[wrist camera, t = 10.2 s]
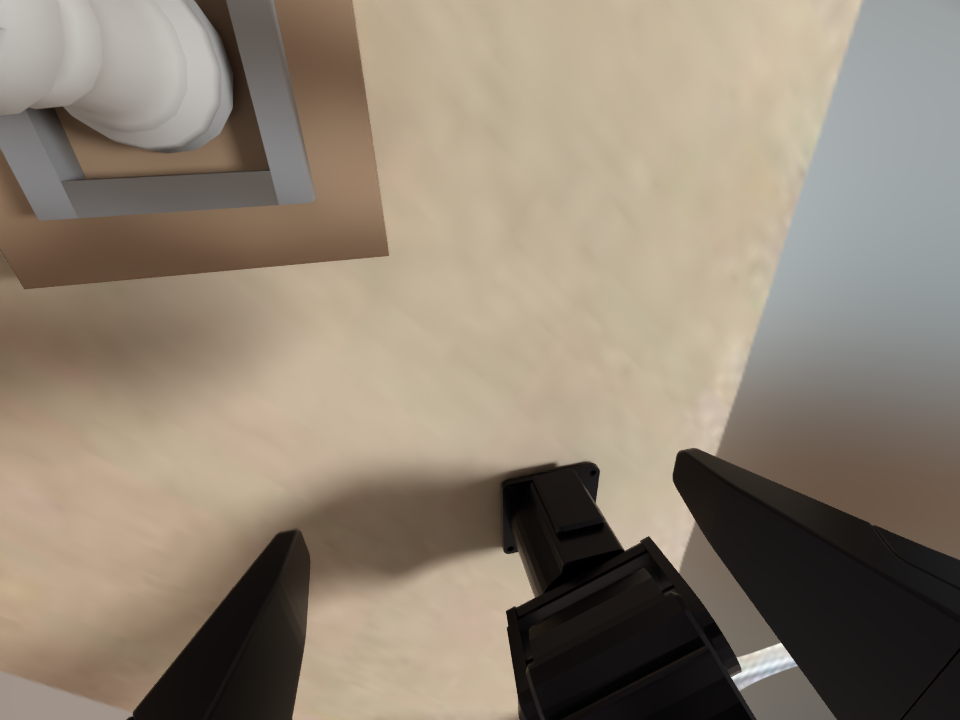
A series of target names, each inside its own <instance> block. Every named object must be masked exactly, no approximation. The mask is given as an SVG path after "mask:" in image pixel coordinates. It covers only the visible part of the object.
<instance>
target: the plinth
mask: <svg viewBox="0 0 960 720" xmlns="http://www.w3.org/2000/svg"><path fill="white" fill-rule="evenodd" d="M194 1H195V2H196V3H197V5H198V6H199V8H200V9H201V10H202V12H203V13H204V15H205V16H206V17H207V19H208V20H209V22H210V23H211V24H212V26H213V27H214V29H215V30H216V31H217V33H218V34H219V36H220V37H221V40H222V43H223V45H224V48H225V51H226V54H227V57H228V60H229V63H230V66H231V69H232V72H233V109H232V111H231V113H230V115H229V117H228V119H227V121H226V123H225V125H224V127H223V129H222V131H221V133H220V134H219V135H218V136H216V137H215V138H213V139H212V140H210V141H209V142H207V143H206V144H205V145H203V146H202V147H200V148H199V149H197V150H191V151H183V152H175V153H167V154H166V153H162V152H158V151H149V150H145V149H141V148H137V147H133V146H129V145H125V144H121V143H117V142H115V141H113V140H111V139H109V138H108V137H106V136H104V135H103V134H101V133H99V132H98V131H96V130H94V129H93V128H91V127H89V126H88V125H86V124H84V123H83V122H81V121H79V120H78V119H76V118H74V117H73V116H72V115H71V114H70V113H69V112H68V111H67V110H66V109H65V108H64V107H63V106H61V107H52V108H43V109H33V108H30V107H28V108H27V109H25V110H24V111H23V112H21V113H20V114H10V115H1V116H0V249H1V251H2V252H3V254H4V256H5V257H6V259H7V261H8V263H9V264H10V266H11V268H12V269H13V271H14V273H15V274H16V276H17V278H18V279H19V281H20V283H21V284H22V286H23V288H24V289H32V288H43V287H54V286H65V285H76V284H87V283H97V282H108V281H119V280H130V279H141V278H152V277H163V276H174V275H185V274H196V273H207V272H218V271H229V270H240V269H251V268H261V267H272V266H283V265H294V264H305V263H316V262H327V261H338V260H349V259H360V258H371V257H382V256H389V252H388V244H387V237H386V230H385V223H384V216H383V210H382V203H381V196H380V189H379V182H378V175H377V168H376V161H375V154H374V147H373V141H372V134H371V127H370V120H369V113H368V106H367V99H366V92H365V85H364V78H363V71H362V65H361V58H360V51H359V44H358V37H357V30H356V23H355V16H354V9H353V2H352V0H194Z"/></svg>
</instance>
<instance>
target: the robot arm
mask: <svg viewBox="0 0 960 720" xmlns="http://www.w3.org/2000/svg"><path fill="white" fill-rule="evenodd" d="M599 474H600V470H599V468H598V467H597V465H596V464H594V463H589V464H584V465H579V466H574V467H569V468H564V469H559V470H554V471H549V472H544V473H539V474H534V475H529V476H524V477H519V478H514V479H508V480H506V481H504V482H503V483H502V484H501V521H502V547H503V550H504V552H505V553H506V554H511V553H515V552H519V554H520V557H521V560H522V562H523V565H524V568H525V571H526V574H527V577H528V579H529V582H530V585H531V588H532V591H533V594H534V596H535V598H534V599H532V600H530V601H528V602H526V603H524V604H522V605H520V606H518V607H517V608H516V607H515V606H514V607H512V608H511V609H509V610H507V611H506V614H507V620H508V627H507V632H508V638H509V644H510V650H511V657H512V663H513V669H514V675H515V681H516V688H517V694H518V714H519V719H520V720H756V718H755V717H754V715H753V713H752V712H751V710H750V708H749V707H748V705H747V704H746V702H745V700H744V698H743V697H742V695H741V693H740V692H739V690H738V688H737V687H736V685H735V683H734V682H733V680H732V678H731V677H732V676H734V675H736V674H738V673H740V672H741V667H740V664H739V662H738V660H737V658H736V656H735V654H734V652H733V650H732V649H731V647H730V645H729V643H728V642H727V640H726V638H725V637H724V635H723V633H722V632H721V630H720V629H719V627H718V626H717V624H716V623H715V621H714V619H713V618H712V617H711V615H710V614H709V612H708V611H707V609H706V608H705V606H704V605H703V604H702V602H701V601H700V599H699V598H698V597H697V596H696V594H695V593H694V592H693V590H692V589H691V588H690V587H689V585H688V584H687V583H686V582H685V580H684V579H683V578H682V577H681V576H680V574H679V573H678V572H677V570H676V569H675V568H674V567H673V565H672V564H671V563H670V562H669V560H668V559H667V558H666V557H665V555H664V554H663V553H662V552H661V550H660V549H659V548H658V547H657V545H656V544H655V543H654V542H653V541H652V539H651V538H650V537H649V536H648V537H646V538H645V539H643V540H641V541H640V542H641V543H639V544H637V545H635V546H633V547H631V548H629V549H628V550H626V551H625V550H624V549H623V547H622V545H621V544H620V542H619V541H618V539H617V537H616V536H615V534H614V532H613V531H612V529H611V528H610V526H609V524H608V523H607V521H606V520H605V518H604V516H603V514H602V513H601V511H600V510H599V508H598V506H597V505H596V496H597V489H598V481H599ZM673 482H674V484H675V486H676V488H677V490H678V492H679V493H680V495H681V497H682V498H683V500H684V502H685V503H686V505H687V507H688V509H689V510H690V512H691V514H692V515H693V517H694V519H695V520H696V522H697V524H698V525H699V527H700V529H701V530H702V532H703V534H704V535H705V537H706V538H707V540H708V542H709V543H710V544H711V546H712V547H713V549H714V550H715V552H716V553H717V554H718V556H719V557H720V558H721V560H722V561H723V563H724V564H725V566H726V567H727V568H728V570H729V571H730V572H731V574H732V575H733V577H734V578H735V579H736V581H737V582H738V583H739V585H740V586H741V588H742V589H743V590H744V592H745V593H746V595H747V596H748V597H749V599H750V600H751V601H752V603H753V604H754V606H755V607H756V608H757V610H758V611H759V612H760V614H761V615H762V617H763V618H764V619H765V621H766V622H767V624H768V625H769V626H770V628H771V629H772V630H773V632H774V633H775V635H776V636H777V637H778V639H779V640H780V642H781V643H782V644H783V646H784V647H785V648H786V650H787V651H788V653H789V654H790V655H791V657H792V658H793V659H794V661H795V662H796V664H797V665H798V666H799V668H800V669H801V671H802V672H803V673H804V675H805V676H806V677H807V679H808V680H809V682H810V683H811V684H812V686H813V687H814V688H815V690H816V691H817V693H818V694H819V695H820V697H821V698H822V700H823V701H824V702H825V704H826V705H827V706H828V708H829V709H830V711H831V712H832V713H833V714H834V716H835V717H836V718H837V720H960V560H958V559H956V558H953V557H951V556H948V555H946V554H943V553H941V552H938V551H935V550H933V549H930V548H928V547H926V546H923V545H921V544H918V543H916V542H914V541H911V540H909V539H906V538H904V537H902V536H899V535H897V534H894V533H892V532H890V531H888V530H885V529H883V528H881V527H878V526H876V525H871V524H870V523H869V522H866V521H864V520H862V519H859V518H857V517H855V516H852V515H850V514H847V513H845V512H843V511H841V510H839V509H836V508H834V507H832V506H829V505H827V504H825V503H822V502H820V501H817V500H815V499H813V498H811V497H808V496H806V495H804V494H801V493H799V492H797V491H794V490H792V489H790V488H787V487H785V486H783V485H780V484H778V483H776V482H773V481H771V480H769V479H766V478H764V477H762V476H759V475H757V474H755V473H752V472H750V471H748V470H746V469H743V468H741V467H739V466H736V465H734V464H731V463H729V462H727V461H724V460H722V459H720V458H717V457H715V456H713V455H711V454H708V453H706V452H704V451H701V450H699V449H696V448H691V449H686V450H681V451H679V452H678V454H677V456H676V461H675V466H674V471H673ZM509 487H511V488H509ZM309 579H310V554H309V551H308V549H307V546H306V543H305V540H304V538H303V535H302V532H301V531H300V530H299V529H297V528H295V529H290V530H285V531H281V532H279V533H278V534H276V535H275V537H274V538H273V539H272V540H271V542H270V543H269V544H268V545H267V547H266V548H265V549H264V550H263V551H262V553H261V554H260V555H259V556H258V558H257V559H256V560H255V561H254V563H253V564H252V565H251V566H250V568H249V569H248V570H247V571H246V573H245V574H244V575H243V576H242V577H241V579H240V580H239V581H238V582H237V584H236V585H235V586H234V587H233V589H232V590H231V591H230V592H229V594H228V595H227V596H226V597H225V599H224V600H223V601H222V602H221V603H220V605H219V606H218V607H217V608H216V610H215V611H214V612H213V613H212V615H211V616H210V617H209V618H208V620H207V621H206V622H205V623H204V625H203V626H202V627H201V628H200V629H199V631H198V632H197V633H196V634H195V636H194V637H193V638H192V639H191V641H190V642H189V643H188V644H187V646H186V647H185V648H184V649H183V651H182V652H181V653H180V654H179V655H178V657H177V658H176V659H175V660H174V662H173V663H172V664H171V665H170V667H169V668H168V669H167V670H166V672H165V673H164V674H163V675H162V677H161V678H160V679H159V680H158V682H157V683H156V684H155V685H154V686H153V688H152V689H151V690H150V691H149V693H148V694H147V695H146V696H145V698H144V699H143V700H142V701H141V703H140V704H139V705H138V706H137V708H136V709H135V710H134V711H133V717H129V718H128V719H127V720H292V716H293V710H294V705H295V699H296V693H297V687H298V681H299V676H300V670H301V664H302V658H303V652H304V645H305V638H306V625H307V610H308V595H309Z"/></svg>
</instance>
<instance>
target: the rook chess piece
mask: <svg viewBox="0 0 960 720" xmlns="http://www.w3.org/2000/svg"><path fill="white" fill-rule="evenodd" d="M61 106H63V107H64V108H65V109H66V110H67V111H68V112H69V113H70V114H71V115H72V116H73V117H74V118H76V119H78V120H79V121H81V122H83V123H84V124H86V125H88V126H89V127H91V128H93V129H94V130H96V131H98V132H99V133H101V134H103V135H104V136H106V137H108V138H109V139H111V140H113V141H115V142H117V143H121V144H125V145H129V146H133V147H137V148H141V149H145V150H149V151H158V152H162V153H166V154H167V153H175V152H183V151H191V150H197V149H199V148H200V147H202V146H203V145H205V144H206V143H207V142H209V141H210V140H212V139H213V138H215V137H216V136H218V135H219V134H220V133H221V131H222V129H223V127H224V125H225V123H226V121H227V119H228V117H229V115H230V113H231V111H232V109H233V72H232V69H231V66H230V63H229V60H228V57H227V54H226V51H225V48H224V45H223V43H222V40H221V37H220V36H219V34H218V33H217V31H216V30H215V29H214V27H213V26H212V24H211V23H210V22H209V20H208V19H207V17H206V16H205V15H204V13H203V12H202V10H201V9H200V8H199V6H198V5H197V3H196V2H195V1H194V0H0V116H1V115H10V114H20V113H21V112H23V111H24V110H25V109H27V108H28V107H30V108H33V109H43V108H52V107H61Z"/></svg>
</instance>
